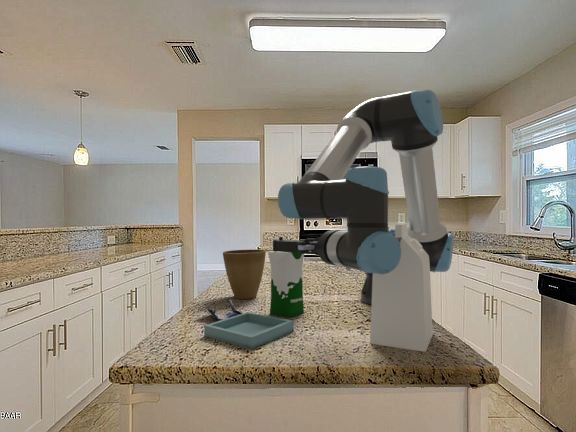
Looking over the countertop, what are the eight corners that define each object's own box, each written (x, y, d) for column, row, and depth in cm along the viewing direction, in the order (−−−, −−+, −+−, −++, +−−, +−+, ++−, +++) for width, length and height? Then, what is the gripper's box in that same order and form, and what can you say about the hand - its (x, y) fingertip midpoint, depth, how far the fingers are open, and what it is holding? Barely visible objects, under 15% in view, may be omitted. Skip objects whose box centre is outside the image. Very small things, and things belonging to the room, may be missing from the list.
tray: (293, 331, 92) (293, 320, 92) (251, 349, 80) (251, 337, 80) (248, 321, 101) (248, 311, 101) (204, 336, 89) (204, 325, 89)
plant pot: (270, 292, 137) (269, 248, 137) (261, 302, 123) (260, 253, 123) (230, 292, 139) (229, 248, 139) (217, 301, 125) (216, 253, 125)
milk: (383, 328, 93) (382, 223, 93) (432, 334, 88) (431, 223, 88) (370, 343, 83) (368, 224, 83) (425, 351, 77) (424, 224, 77)
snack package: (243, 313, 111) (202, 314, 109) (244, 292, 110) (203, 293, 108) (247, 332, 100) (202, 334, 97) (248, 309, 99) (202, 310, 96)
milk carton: (289, 319, 103) (288, 245, 102) (264, 314, 108) (264, 244, 108) (308, 312, 109) (307, 243, 109) (284, 307, 115) (283, 242, 115)
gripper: (286, 269, 74) (253, 259, 94) (389, 263, 84) (339, 255, 104) (286, 231, 75) (253, 229, 94) (389, 229, 84) (339, 227, 104)
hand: (298, 242), depth 99 cm, fingers open, 13 cm apart
